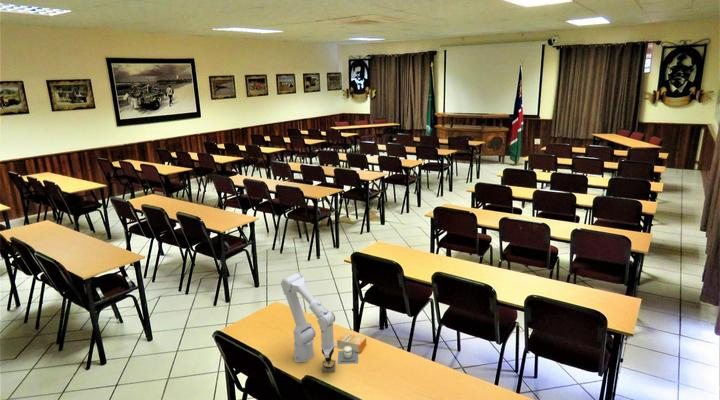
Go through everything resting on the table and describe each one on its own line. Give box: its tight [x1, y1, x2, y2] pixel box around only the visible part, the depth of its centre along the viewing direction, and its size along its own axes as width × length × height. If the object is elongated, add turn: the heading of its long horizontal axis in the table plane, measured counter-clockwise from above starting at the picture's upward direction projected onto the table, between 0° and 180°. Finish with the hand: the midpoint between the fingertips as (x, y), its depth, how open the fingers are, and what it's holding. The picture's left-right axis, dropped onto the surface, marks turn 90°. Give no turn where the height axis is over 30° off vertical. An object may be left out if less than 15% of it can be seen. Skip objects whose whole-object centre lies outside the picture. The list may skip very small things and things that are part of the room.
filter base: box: [337, 350, 359, 365], centre depth 213 cm, size 10×10×2 cm
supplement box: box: [336, 332, 367, 354], centre depth 221 cm, size 8×5×13 cm
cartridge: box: [343, 346, 352, 360], centre depth 212 cm, size 4×4×5 cm
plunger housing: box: [321, 360, 336, 374], centre depth 205 cm, size 6×6×3 cm
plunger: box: [322, 358, 334, 367], centre depth 205 cm, size 5×5×4 cm
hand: (328, 361), depth 204 cm, fingers closed
